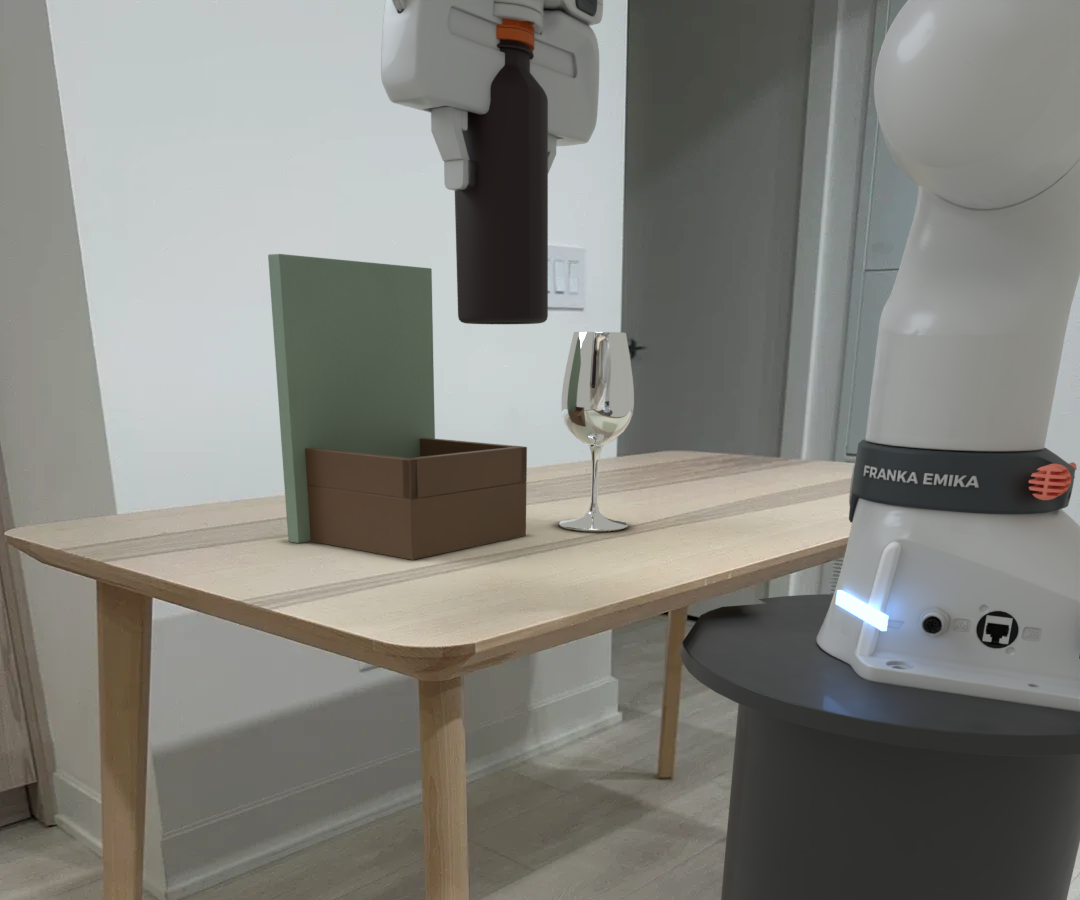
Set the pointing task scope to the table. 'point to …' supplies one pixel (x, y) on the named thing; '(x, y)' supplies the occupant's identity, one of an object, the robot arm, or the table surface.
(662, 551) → the table surface
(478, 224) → the vinegar
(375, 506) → the door shelf
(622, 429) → the wineglass
